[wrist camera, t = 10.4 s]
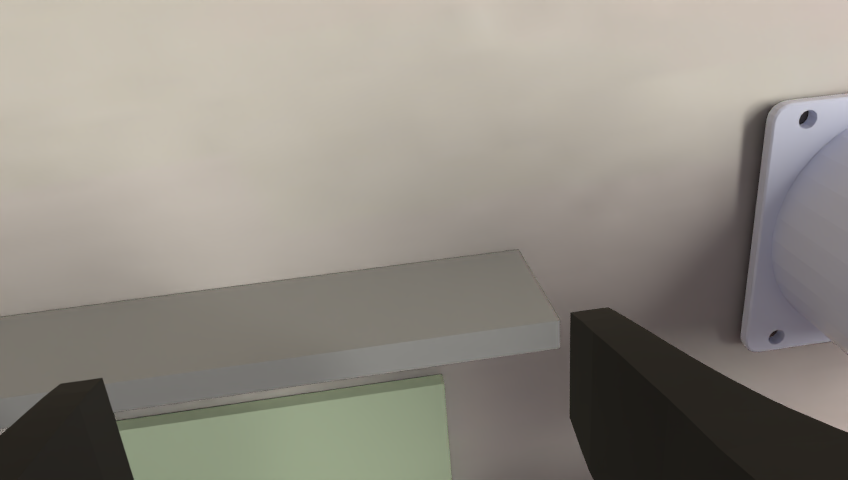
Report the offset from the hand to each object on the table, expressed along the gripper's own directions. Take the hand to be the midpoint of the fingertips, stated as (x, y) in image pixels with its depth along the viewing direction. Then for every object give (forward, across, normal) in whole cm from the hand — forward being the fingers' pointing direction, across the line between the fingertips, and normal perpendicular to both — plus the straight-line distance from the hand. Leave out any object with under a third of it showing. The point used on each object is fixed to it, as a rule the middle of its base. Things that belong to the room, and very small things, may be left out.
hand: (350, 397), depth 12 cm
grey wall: (+9, +3, +3) cm, 10 cm away
